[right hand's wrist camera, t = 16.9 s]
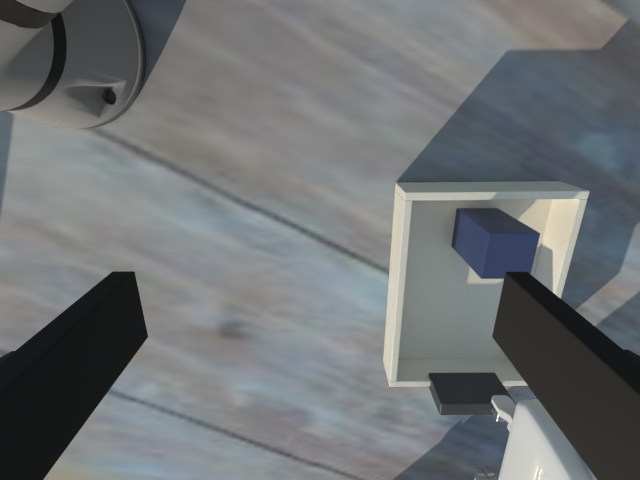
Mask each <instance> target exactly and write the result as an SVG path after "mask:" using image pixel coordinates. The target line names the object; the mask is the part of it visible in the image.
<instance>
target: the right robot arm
mask: <svg viewBox="0 0 640 480" xmlns="http://www.w3.org/2000/svg"><path fill="white" fill-rule="evenodd" d="M145 65H146V52H145V43H144V38H143V33H142V30H141V26H140V23H139V21H138V18H137V15H136V13H135V11H134V9H133V7H132V5H131V3H130V1H129V0H0V111H7V112H10V113H13V114H15V115H18V116H21V117H24V118H26V119H29V120H32V121H35V122H37V123H40V124H43V125H47V126H51V127H57V128H65V129H85V128H93V127H98V126H102V125H105V124H107V123H110V122H112V121H113V120H115V119H117V118H118V117H120V116H121V115H122V114H123V113H124V112H126V111H127V110H128V108H129V107H130V106H131V105H132V103H133V102H134V100H135V99H136V97H137V95H138V93H139V91H140V88H141V86H142V82H143V79H144V73H145ZM147 337H148V335H147V330H146V325H145V320H144V315H143V311H142V306H141V301H140V296H139V292H138V287H137V282H136V277H135V272H112V273H110V274H109V275H108V276H107V277H106V278H104V279H103V280H102V281H101V282H99V283H98V284H97V285H96V286H94V287H93V288H92V289H91V290H90V291H88V292H87V293H86V294H85V295H83V296H82V297H81V298H80V299H79V300H77V301H76V302H75V303H74V304H72V305H71V306H70V307H69V308H68V309H66V310H65V311H64V312H63V313H61V314H60V315H59V316H58V317H56V318H55V319H54V320H53V321H52V322H50V323H49V324H48V325H47V326H45V327H44V328H43V329H42V330H41V331H39V332H38V333H37V334H36V335H34V336H33V337H32V338H31V339H30V340H28V341H27V342H26V343H25V344H23V345H22V346H21V347H20V348H18V349H17V350H16V351H12V352H10V353H8V354H6V355H4V356H2V357H1V358H0V480H43V479H44V478H45V476H46V475H47V474H48V472H49V471H50V469H51V468H52V467H53V465H54V464H55V463H56V461H57V460H58V459H59V457H60V456H61V454H62V453H63V452H64V450H65V449H66V448H67V446H68V445H69V444H70V442H71V441H72V439H73V438H74V437H75V435H76V434H77V433H78V431H79V430H80V429H81V427H82V426H83V425H84V423H85V422H86V420H87V419H88V418H89V416H90V415H91V414H92V412H93V411H94V410H95V408H96V407H97V405H98V404H99V403H100V401H101V400H102V399H103V397H104V396H105V395H106V393H107V392H108V390H109V389H110V388H111V386H112V385H113V384H114V382H115V381H116V380H117V378H118V377H119V375H120V374H121V373H122V371H123V370H124V369H125V367H126V366H127V365H128V363H129V362H130V361H131V359H132V358H133V356H134V355H135V354H136V352H137V351H138V350H139V348H140V347H141V346H142V344H143V343H144V341H145V340H146V339H147ZM492 337H493V339H494V340H495V341H496V343H497V344H498V346H499V347H500V348H501V350H502V351H503V352H504V354H505V355H506V356H507V358H508V359H509V361H510V362H511V363H512V365H513V366H514V367H515V369H516V370H517V371H518V373H519V374H520V375H521V377H522V378H523V380H524V381H525V382H526V384H527V385H528V386H529V388H530V389H531V390H532V392H533V393H534V395H535V396H536V397H537V399H538V400H539V401H540V403H541V404H542V405H543V407H544V408H545V410H546V411H547V412H548V414H549V415H550V416H551V418H552V419H553V420H554V422H555V423H556V425H557V426H558V427H559V429H560V430H561V431H562V433H563V434H564V435H565V437H566V438H567V439H568V441H569V442H570V444H571V445H572V446H573V448H574V449H575V450H576V452H577V453H578V454H579V456H580V457H581V459H582V460H583V461H584V463H585V464H586V465H587V467H588V468H589V469H590V471H591V472H592V474H593V475H594V476H595V478H596V479H597V480H640V356H639V355H637V354H635V353H633V352H631V351H629V350H623V349H622V348H620V347H619V346H618V345H617V344H615V343H614V342H613V341H612V340H610V339H609V338H608V337H607V336H606V335H604V334H603V333H602V332H601V331H599V330H598V329H597V328H596V327H595V326H593V325H592V324H591V323H590V322H588V321H587V320H586V319H585V318H584V317H582V316H581V315H580V314H579V313H577V312H576V311H575V310H574V309H572V308H571V307H570V306H569V305H568V304H566V303H565V302H564V301H563V300H561V299H560V298H559V297H558V296H557V295H555V294H554V293H553V292H552V291H550V290H549V289H548V288H547V287H546V286H544V285H543V284H542V283H541V282H539V281H538V280H537V279H536V278H534V277H533V276H532V275H531V274H530V273H528V272H505V277H504V282H503V287H502V292H501V296H500V301H499V306H498V311H497V315H496V320H495V325H494V330H493V335H492Z"/></svg>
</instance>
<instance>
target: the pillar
mask: <svg viewBox="0 0 640 480" xmlns="http://www.w3.org/2000/svg"><path fill="white" fill-rule="evenodd" d="M539 237H540V233H539V232H537V231H536V230H534V229H532V228H530V227H529V226H527V225H525V224H524V223H522V222H520V221H519V220H517V219H515V218H514V217H512V216H510V215H508V214H507V213H505V212H503V211H502V210H500V209H498V208H457V210H456V217H455V224H454V231H453V238H452V244H451V247H452V248H453V249H454V250H455V251H456V252H457V253H458V254H459V255H460V256H461V257H462V259H463V260H464V261H465V262H466V263H467V264H468V265H469V266H470V267H471V268H472V269H473V271H474V272H475V273H476V274H477V275H478V276H479V277H480V278H481V279H504V277H505V272H528V273H530V274H531V270H532V266H533V262H534V258H535V254H536V249H537V245H538V241H539Z"/></svg>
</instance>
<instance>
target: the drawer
mask: <svg viewBox="0 0 640 480" xmlns="http://www.w3.org/2000/svg"><path fill="white" fill-rule="evenodd" d="M589 192H590V191H588V190H585V189H582V188H579V187H576V186H573V185H570V184H566V183H563V182H560V181H523V182H396V185H395V199H394V213H393V228H392V242H391V257H390V271H389V285H388V300H387V314H386V328H385V343H384V357H383V362H384V366H385V370H386V374H387V378H388V382H389V386H390V387H394V386H429V388H430V391H431V393H432V396H433V399H434V401H435V404H436V406H437V409H438V412H439V414H440V415H491V414H493V413H491V411H490V405H491V399H492V396H493V395H506V396H508V397H510V395H509V394H508V392H507V390H506V389H505V387H504V386H528V385H527V384H526V382H525V381H524V380H523V378H522V377H521V375H520V374H519V373H518V371H517V370H516V369H515V367H514V366H513V365H512V363H511V362H510V361H509V359H508V358H507V356H506V355H505V354H504V352H503V351H502V350H501V348H500V347H499V346H498V344H497V343H496V341H495V340H494V339H493V337H492V335H493V330H494V325H495V320H496V315H497V311H498V306H499V301H500V296H501V292H502V287H503V282H504V279H481V278H480V277H479V276H478V275H477V274H476V273H475V272H474V271H473V269H472V268H471V267H470V266H469V265H468V264H467V263H466V262H465V261H464V260H463V259H462V257H461V256H460V255H459V254H458V253H457V252H456V251H455V250H454V249H453V248H452V247H451V244H452V238H453V231H454V224H455V217H456V210H457V208H498V209H500V210H502V211H503V212H505V213H507V214H508V215H510V216H512V217H514V218H515V219H517V220H519V221H520V222H522V223H524V224H525V225H527V226H529V227H530V228H532V229H534V230H536V231H537V232H539V233H540V237H539V241H538V245H537V249H536V254H535V258H534V262H533V266H532V270H531V275H532V276H533V277H534V278H536V279H537V280H538V281H539V282H541V283H542V284H543V285H544V286H546V287H547V288H548V289H549V290H550V291H552V292H553V293H554V294H555V295H557V296H558V297H559V298H560V299H561V296H562V292H563V288H564V285H565V281H566V277H567V273H568V270H569V266H570V262H571V259H572V255H573V251H574V247H575V244H576V240H577V236H578V233H579V229H580V225H581V222H582V218H583V214H584V210H585V207H586V203H587V199H588V196H589ZM510 398H511V397H510ZM511 399H512V398H511ZM512 401H513V400H512ZM513 402H514V401H513ZM514 404H515V403H514Z"/></svg>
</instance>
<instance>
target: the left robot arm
mask: <svg viewBox="0 0 640 480" xmlns="http://www.w3.org/2000/svg"><path fill="white" fill-rule="evenodd" d="M490 411H491V413H493V416H494V418H495V420H496V421H497V422H504V421H507V422H508V423H509V424H508V426H507V428H508V430H509V432H510V434H509V438H508V442H507V446H506V450H505V454H504V458H503V462H502V466H501V470H500V474H499V478H498V479H497V477H495V473H494V471H493V470H492V469H491V468H488V467H485V468H481V467H480V468H477V470H476V474H475V478H474V480H597V479H596V478H595V476H594V475H593V474H592V472H591V471H590V469H589V468H588V467H587V465H586V464H585V463H584V461H583V460H582V459H581V457H580V456H579V454H578V453H577V452H576V450H575V449H574V448H573V446H572V445H571V444H570V442H569V441H568V439H567V438H566V437H565V435H564V434H563V433H562V431H561V430H560V429H559V427H558V426H557V425H556V423H555V422H554V420H553V419H552V418H551V416H550V415H549V414H548V412H547V411H546V410H545V408H544V407H543V405H542V404H541V403H540V401H539V400H538V399H525V400H520V401H519V402H518V403H517V405H515V404H514V402H513V401H512V399H511V398H510V397H508V396H506V395H493V396H492V399H491V405H490Z"/></svg>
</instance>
